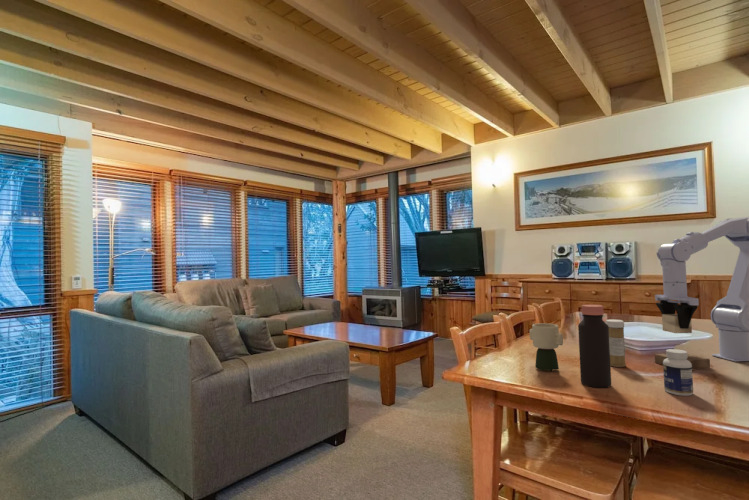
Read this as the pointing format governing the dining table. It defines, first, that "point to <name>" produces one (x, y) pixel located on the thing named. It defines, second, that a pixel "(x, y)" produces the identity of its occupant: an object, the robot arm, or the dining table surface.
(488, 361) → the dining table surface
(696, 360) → the walnut block
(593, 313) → the vinegar
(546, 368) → the character mug
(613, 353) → the sprinkles bottle
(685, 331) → the maple cube
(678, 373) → the pill bottle
